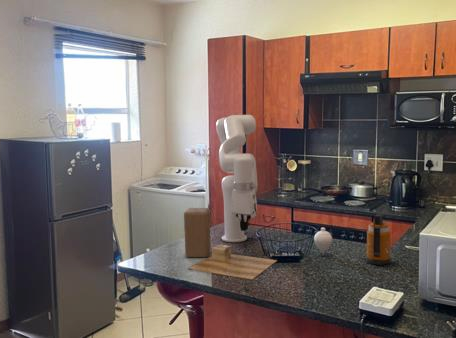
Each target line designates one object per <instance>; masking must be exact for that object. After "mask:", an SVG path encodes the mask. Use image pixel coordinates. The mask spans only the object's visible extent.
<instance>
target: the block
mask: <svg viewBox="0 0 456 338" xmlns="http://www.w3.org/2000/svg"><path fill="white" fill-rule="evenodd" d="M183 227H184V255H185V257H186V258H209V255H210V253H211V252H212V236H211V234H212V233H211V209H210V208H209V207H189V208H187V209H186V210H185V211H184V212H183Z"/></svg>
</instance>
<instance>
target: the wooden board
mask: <svg viewBox="0 0 456 338" xmlns="http://www.w3.org/2000/svg"><path fill="white" fill-rule="evenodd" d="M276 262H278V260H277V259H272V258H271V259H270V258H263V257H255V256H250V255H249V256H248V255H241V254H234V253H231V258H229V259H228V260H226V261H217V260H212V255H211V256H210V257H209V256H208V257H207V258H206V259H204V260H202V261H200V262H198V263H197V264H195V265H193V266H191V267H189V268H188V270H193V271H200V272H205V273H210V274H216V275H222V276H227V277H233V278H234V277H235V278H241V279H247V280H254V279H255V278H256V277H258V276H259V275H260V274H261V273H263V272H264V271H265V270H267V269H268V268H270V267H271V266H272V265H273V264H274V263H276Z"/></svg>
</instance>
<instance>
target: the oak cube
mask: <svg viewBox="0 0 456 338" xmlns="http://www.w3.org/2000/svg"><path fill="white" fill-rule="evenodd" d="M231 254H232V246H231V245H224V244H216V245H215V246H213V247H211V256H212V260H217V261H226V260H228V259H229V258H231Z"/></svg>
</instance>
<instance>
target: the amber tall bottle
mask: <svg viewBox="0 0 456 338" xmlns="http://www.w3.org/2000/svg"><path fill="white" fill-rule="evenodd" d="M383 218H384V214H383V213H376V214H375V215H374V218H373V219H374V220H373V222H370V223H369V224H368V230H366V262H368V263H370V264H372V265H377V266H385V265H387V264H389V263H390V262H391V231H390V226H389V223H388V222H387V221H385V220H383Z"/></svg>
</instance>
